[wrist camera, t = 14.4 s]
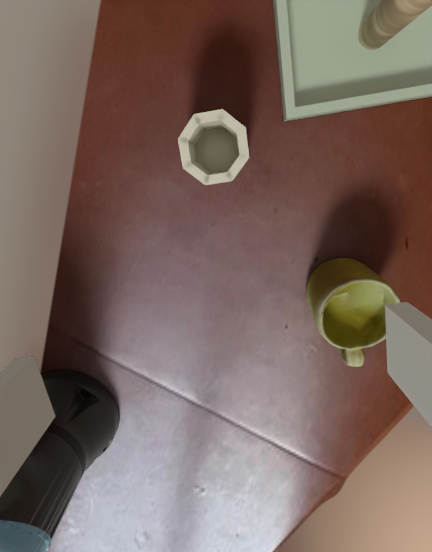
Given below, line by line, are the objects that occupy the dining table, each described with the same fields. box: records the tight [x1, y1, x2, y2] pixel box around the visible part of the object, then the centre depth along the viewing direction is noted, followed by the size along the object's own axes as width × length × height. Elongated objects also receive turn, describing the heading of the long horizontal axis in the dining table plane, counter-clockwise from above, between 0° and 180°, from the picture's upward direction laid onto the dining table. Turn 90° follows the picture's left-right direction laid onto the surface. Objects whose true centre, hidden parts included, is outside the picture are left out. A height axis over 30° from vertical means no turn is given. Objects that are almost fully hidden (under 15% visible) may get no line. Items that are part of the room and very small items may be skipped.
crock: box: [178, 109, 249, 185], centre depth 38 cm, size 7×7×8 cm
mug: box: [306, 258, 401, 366], centre depth 43 cm, size 12×10×10 cm
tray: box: [273, 0, 432, 122], centre depth 36 cm, size 20×14×2 cm
